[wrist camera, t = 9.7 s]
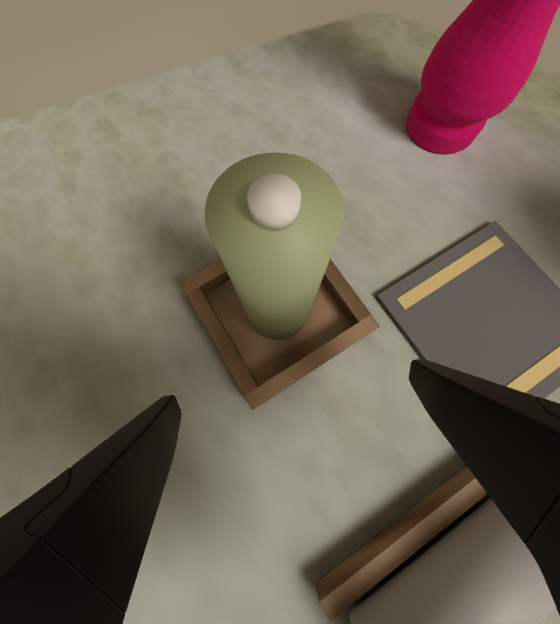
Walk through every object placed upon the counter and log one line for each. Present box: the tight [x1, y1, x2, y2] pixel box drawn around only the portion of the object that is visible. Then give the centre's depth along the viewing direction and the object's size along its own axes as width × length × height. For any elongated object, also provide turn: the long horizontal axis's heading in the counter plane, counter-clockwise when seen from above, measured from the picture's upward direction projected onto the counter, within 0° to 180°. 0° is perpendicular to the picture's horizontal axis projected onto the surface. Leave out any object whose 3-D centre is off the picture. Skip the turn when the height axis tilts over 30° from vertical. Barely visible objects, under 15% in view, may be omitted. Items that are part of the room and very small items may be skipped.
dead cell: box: [349, 498, 556, 624], centre depth 15 cm, size 13×4×4 cm, turn 122°
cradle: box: [316, 466, 487, 621], centre depth 16 cm, size 14×7×2 cm, turn 122°
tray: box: [180, 259, 380, 410], centre depth 20 cm, size 10×10×2 cm
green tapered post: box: [205, 153, 344, 340], centre depth 14 cm, size 4×4×13 cm
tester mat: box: [376, 221, 560, 398], centre depth 20 cm, size 12×12×1 cm
